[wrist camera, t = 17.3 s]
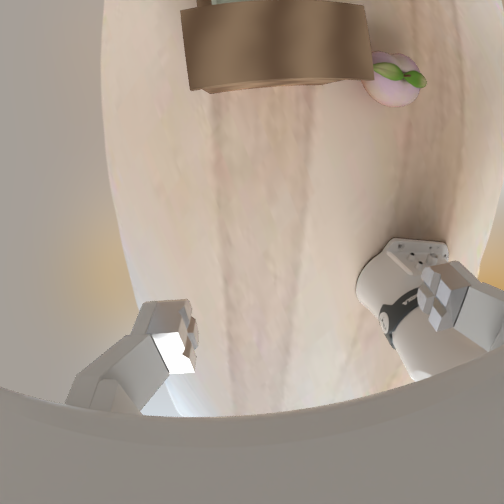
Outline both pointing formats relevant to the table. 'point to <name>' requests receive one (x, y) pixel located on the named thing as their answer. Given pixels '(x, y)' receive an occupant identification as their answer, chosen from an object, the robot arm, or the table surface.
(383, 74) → the decorative fruit
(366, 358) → the table surface
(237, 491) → the robot arm
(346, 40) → the wooden stand
